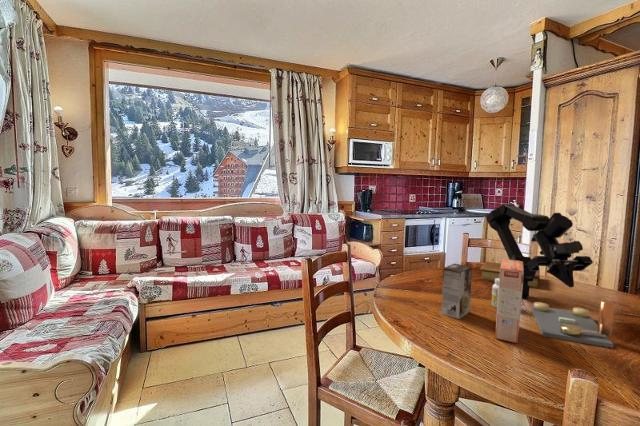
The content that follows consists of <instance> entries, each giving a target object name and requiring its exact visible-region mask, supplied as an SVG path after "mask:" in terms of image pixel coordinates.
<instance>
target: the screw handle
mask: <svg viewBox="0 0 640 426" xmlns="http://www.w3.org/2000/svg"><path fill="white" fill-rule="evenodd" d="M614 309H615V303H614V302H612V301H610V300H603V299H601V300H600V301H599V311H598V322H597V325H598V331H591V330H582V329H581V328H580V327H577V326H575V325H571V324H561V325H560V331H561V332H563V333H565V334H568V335H572V336H581V335H582V334H584V335H592V336H601V337H606V336H607V337H608V336H612V332H613V324H614Z"/></svg>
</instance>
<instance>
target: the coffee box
mask: <svg viewBox="0 0 640 426" xmlns="http://www.w3.org/2000/svg"><path fill="white" fill-rule="evenodd" d="M472 268H473V267H472V266H467V265H464V264H459V263H452V264H450V265H447V266H445V267H443V273H442V298H441V315H445V316H448V317H451V318H453V319H458V320H460V319H462V318H463V317H464V316H466V315H467V314H468V313H470V312H471V295H472V294H471V293H472V273H473V272H472V270H473V269H472Z"/></svg>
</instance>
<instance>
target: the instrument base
mask: <svg viewBox="0 0 640 426" xmlns="http://www.w3.org/2000/svg"><path fill="white" fill-rule="evenodd" d="M530 307H531V308H530V309H531V311H532V313H533V316H534V319H535V321H536V323H537V326H538V328H539V331H540V332H541V336H542V337H546V338H552V339H557V340H562V341H569V342H573V343H580V344H585V345H590V346H591V345H592V346H597V347H602V346H604V347H603V348H608V347H610V348H609V349H614V343H613V342H612V340H610V338H609V337H608V335H606V337H601V336H592V335H584V334H582V335H581V336H572V335H568V334H565V333H563V332H561V331H560V325H561V324H571V325H575V326H577V327H580V328H581V329H582V330H591V331H598V323H596V321H594V319H593V318H592V317H591V316H590V310H589V309H585V308H582V307H573V308H572V310H567V309H560V308H553V307H550V305H549V304H548V303H544V302H539V301H535V302H533V305H532V304H531V306H530Z"/></svg>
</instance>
